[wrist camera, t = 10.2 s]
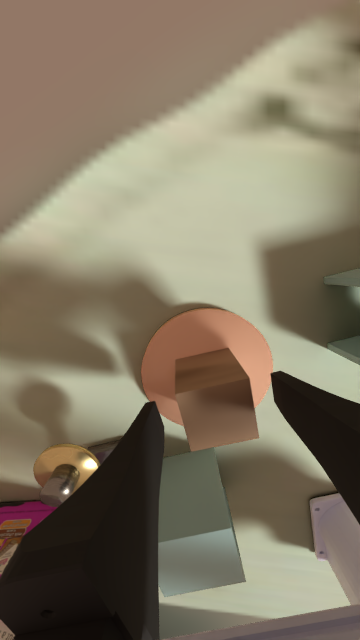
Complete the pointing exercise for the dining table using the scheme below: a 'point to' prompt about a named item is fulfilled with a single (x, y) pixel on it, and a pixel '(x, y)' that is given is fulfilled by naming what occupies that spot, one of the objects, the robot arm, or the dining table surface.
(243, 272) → the dining table surface
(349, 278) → the teal cover
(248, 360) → the terracotta dish
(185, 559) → the teal cover
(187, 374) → the walnut block
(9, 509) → the candy bar box
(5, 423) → the dining table surface
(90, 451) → the balance
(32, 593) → the robot arm
